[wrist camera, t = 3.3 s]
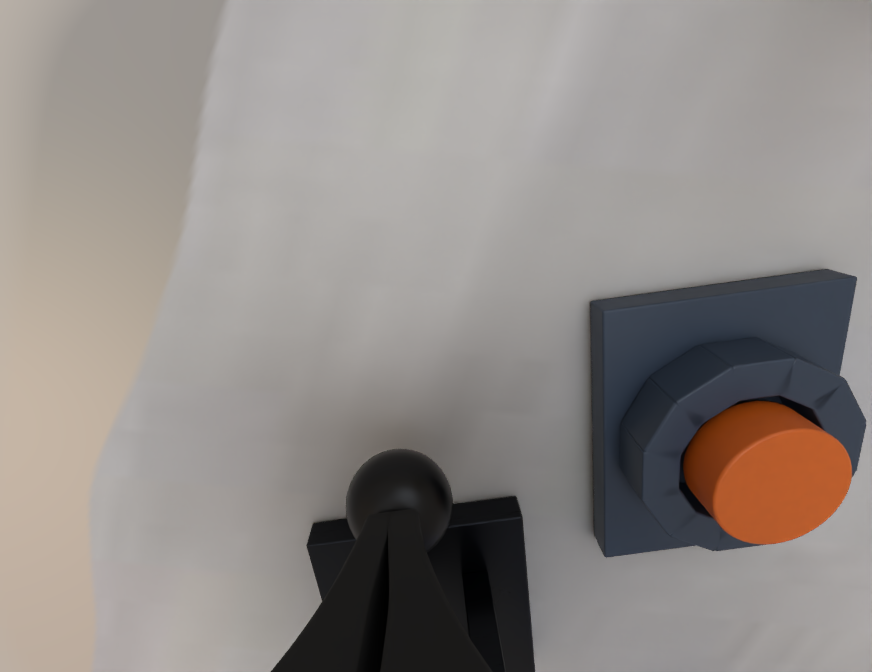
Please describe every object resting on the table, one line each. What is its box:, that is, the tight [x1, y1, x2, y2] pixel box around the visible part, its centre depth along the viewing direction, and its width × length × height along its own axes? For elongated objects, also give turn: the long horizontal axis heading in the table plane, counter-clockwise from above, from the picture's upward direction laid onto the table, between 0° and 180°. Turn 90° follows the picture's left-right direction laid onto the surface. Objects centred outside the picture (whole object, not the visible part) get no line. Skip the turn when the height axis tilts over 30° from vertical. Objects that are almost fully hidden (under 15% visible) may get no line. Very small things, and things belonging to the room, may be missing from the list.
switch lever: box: [346, 449, 453, 552], centre depth 15 cm, size 11×3×3 cm, turn 7°
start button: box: [683, 401, 852, 544], centre depth 15 cm, size 4×4×2 cm
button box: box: [590, 269, 866, 557], centre depth 16 cm, size 10×8×3 cm
